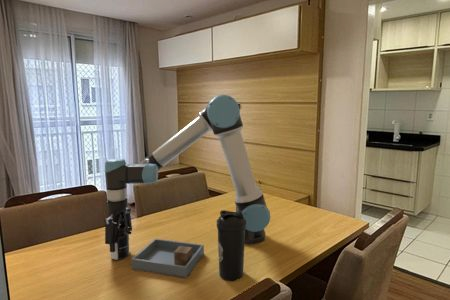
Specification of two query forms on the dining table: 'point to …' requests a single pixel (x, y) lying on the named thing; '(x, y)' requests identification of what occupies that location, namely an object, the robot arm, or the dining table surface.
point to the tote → (166, 258)
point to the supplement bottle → (122, 242)
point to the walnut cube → (182, 255)
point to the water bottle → (231, 244)
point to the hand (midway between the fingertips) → (120, 254)
